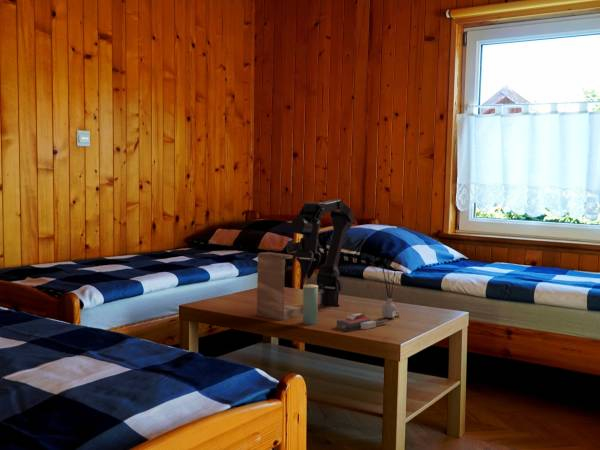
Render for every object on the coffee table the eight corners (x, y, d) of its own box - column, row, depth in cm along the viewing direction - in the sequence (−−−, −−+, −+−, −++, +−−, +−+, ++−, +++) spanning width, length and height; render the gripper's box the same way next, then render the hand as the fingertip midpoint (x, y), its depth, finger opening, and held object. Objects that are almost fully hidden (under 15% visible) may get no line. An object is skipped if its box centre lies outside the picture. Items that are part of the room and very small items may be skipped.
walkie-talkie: (352, 334, 210) (390, 325, 224) (352, 320, 209) (390, 312, 223) (332, 329, 216) (370, 320, 230) (332, 316, 216) (371, 308, 230)
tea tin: (314, 321, 226) (315, 284, 225) (319, 324, 221) (320, 286, 220) (300, 321, 224) (301, 284, 223) (304, 325, 219) (305, 287, 218)
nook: (278, 310, 242) (279, 251, 240) (301, 315, 234) (303, 254, 232) (256, 314, 234) (257, 253, 232) (280, 320, 226) (282, 256, 224)
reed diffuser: (387, 321, 228) (388, 265, 227) (371, 317, 233) (373, 262, 231) (403, 317, 236) (405, 262, 234) (388, 314, 240) (390, 260, 239)
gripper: (294, 236, 249) (290, 276, 248) (283, 232, 231) (278, 275, 230) (323, 238, 246) (319, 279, 245) (313, 235, 228) (308, 279, 227)
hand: (305, 278), depth 237 cm, fingers open, 9 cm apart
